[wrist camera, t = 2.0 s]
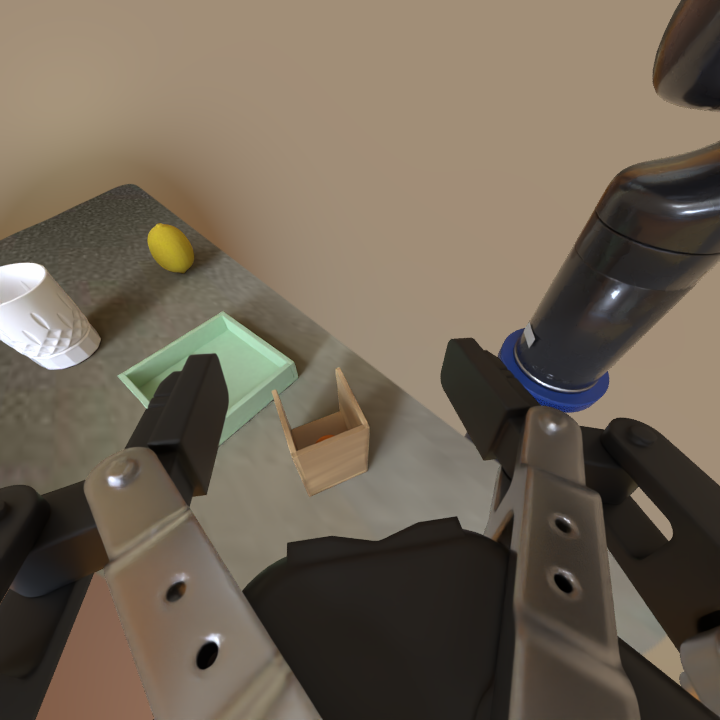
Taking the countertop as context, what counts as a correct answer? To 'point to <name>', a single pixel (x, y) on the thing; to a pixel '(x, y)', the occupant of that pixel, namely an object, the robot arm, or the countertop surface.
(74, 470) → the countertop surface
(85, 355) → the white cup
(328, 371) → the countertop surface
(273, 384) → the tray
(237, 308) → the countertop surface
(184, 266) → the lemon
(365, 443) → the open wooden box
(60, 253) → the countertop surface
